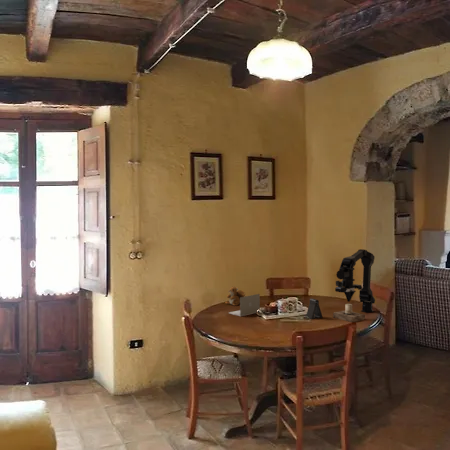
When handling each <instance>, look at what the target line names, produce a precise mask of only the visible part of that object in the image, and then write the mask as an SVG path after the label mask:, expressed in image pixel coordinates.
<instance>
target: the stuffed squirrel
mask: <svg viewBox="0 0 450 450" xmlns="http://www.w3.org/2000/svg"><path fill="white" fill-rule="evenodd" d="M228 293H229V294H227V295H226V298H227V299H228V301H225V302H224V303H225V304H226V305H232V306H234V307H235V306H238V305H240V297H245V296H246V292H245V291H244V290H239V287H236V286H231V287H230V288H229V290H228Z"/></svg>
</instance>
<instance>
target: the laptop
mask: <svg viewBox="0 0 450 450" xmlns="http://www.w3.org/2000/svg"><path fill="white" fill-rule="evenodd" d="M260 299H261V298H260V293H257V294H250V295H245V296H244V297H240V304H239V310H235V311H230V312H229V311H228V314H230V315H233V316H238V317H245V316H248V315H252V314H253V315H254V314H257V313H256V312H257V310H258V309H260V308H261V304H260V302H261V300H260ZM260 310H261V309H260Z"/></svg>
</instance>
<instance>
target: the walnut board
mask: <svg viewBox="0 0 450 450" xmlns="http://www.w3.org/2000/svg"><path fill="white" fill-rule="evenodd" d="M332 314H333V315H332V317H333V318H335V319H339V320H342V321H346V322H349V323H354V322H359V321H364V319H365V320H366V314H365V313H364V314H363V313H359V312H356V311H352V315H346V314H345V310H340V311H335V312H332Z"/></svg>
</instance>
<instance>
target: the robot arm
mask: <svg viewBox="0 0 450 450" xmlns="http://www.w3.org/2000/svg"><path fill="white" fill-rule="evenodd" d="M358 261H361V264H362V266H363V267H362V268H363V270H362V271H363V273H362V285H361V284H356V283H355V284H354V282H355V281H356V279H355V278H354V270H355V266H356V265H357V262H358ZM374 263H375V255H374V254H373V253H372V252H370V251H368V250H367V249H363V248H362V249H358V250H357V251H356V252H355V253H353V254H352V255H351V256H346V257H345V256H344V257H343V259H342V261H341V264H340V266H339V268H338V270H337V271H336V275H335V276H336V278H337V279H339V280H335V286H336V287H335V288H334V289H335V292H336V293H344V295H345V297H346V300H347V302H350V301H351V300H352V298H353V296H354V294H355V293H356V290H358V291H359V294H358V298H359V302H360V303H362V306H361V310H360V312H364V313H367V314H368V313H374V312H375V310H373V304H376V299H375V297H374V295H373V291H372V288H371V277H372V275H371V274H372V266H373V265H374ZM340 280H341V281H340ZM355 289H356V290H355Z"/></svg>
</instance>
